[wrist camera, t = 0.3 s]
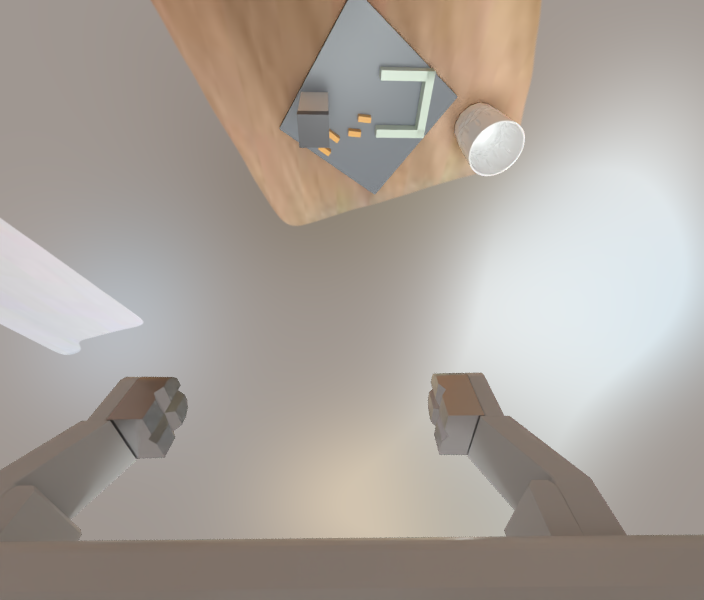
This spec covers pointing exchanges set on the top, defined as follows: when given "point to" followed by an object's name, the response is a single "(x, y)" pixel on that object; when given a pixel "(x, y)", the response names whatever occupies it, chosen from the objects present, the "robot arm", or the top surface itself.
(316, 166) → the top surface
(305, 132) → the beige container
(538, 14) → the top surface
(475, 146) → the white cup
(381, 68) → the end holder
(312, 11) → the top surface
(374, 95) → the board
